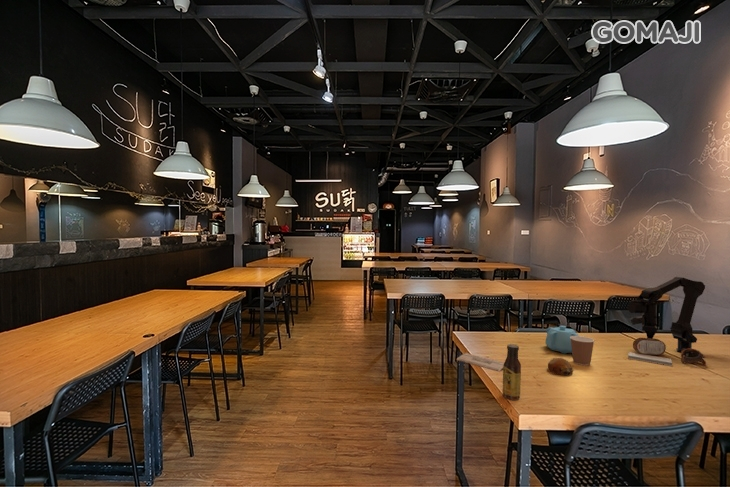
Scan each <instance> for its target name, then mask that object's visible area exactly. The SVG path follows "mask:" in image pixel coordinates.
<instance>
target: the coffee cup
mask: <svg viewBox="0 0 730 487" xmlns="http://www.w3.org/2000/svg"><path fill="white" fill-rule="evenodd" d="M570 339H571V347H572V361H573V363H574V364H576V365H581V366H590V365H591V363H592V357H593V356H592V355H593V352H594V351H593V350H594V344H595V343H594V342H595V339H594V338H592V337H588V336H583V335H579V336H571V337H570Z"/></svg>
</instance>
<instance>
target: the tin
mask: <svg viewBox="0 0 730 487" xmlns="http://www.w3.org/2000/svg"><path fill="white" fill-rule="evenodd" d="M666 347H667V346H666V343H665V342H663V341H662V340H660V339H658V338H654V337H653V338H647V337H638V338H636V339H635V340H633V343H632V349H633V350H634V351H635V353H636V352H637V353H638V354H644V355H650V356H660V355H663V354H664V353H665V352H666V350H667V349H666Z"/></svg>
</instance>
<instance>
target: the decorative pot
mask: <svg viewBox="0 0 730 487" xmlns="http://www.w3.org/2000/svg"><path fill="white" fill-rule="evenodd" d="M571 336H580V335H579V334H578V333H577V332H576V331H575V330H574V329H572V328H567V326H566V325H559V326H558V327H555V326H554V327H552V326H550V327H547V328H546V337H545V342H544V343H545V345H546V347H547V348H549V349H550V350H551V351H557V352H560V353H561V354H563V355H567V353H568V354H569V353H570V354H571V353H572V347H571V339H570V337H571Z"/></svg>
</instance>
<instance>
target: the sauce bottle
mask: <svg viewBox="0 0 730 487" xmlns="http://www.w3.org/2000/svg"><path fill="white" fill-rule="evenodd" d="M506 349H507V350H506V351H507V353H506V357H505V360H504V362H503V363H504V365H503V368H502V395H503V397H504V398H506V399H507V400H510V401H511V400H512V401H516V400H519V399H520V396H521V386H522V385H521V381H522V378H521V376H522V369H521V368H522V365H521V362H520V360H519V349H520V348H519V346H518V345H517V344H511V343H510V344H507V346H506Z"/></svg>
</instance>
